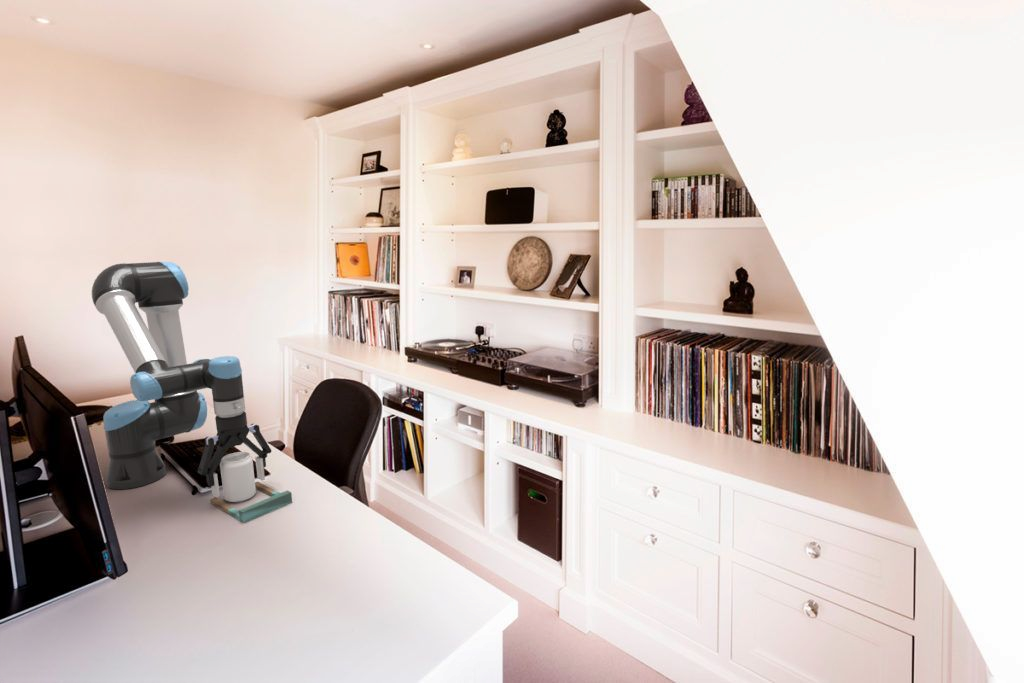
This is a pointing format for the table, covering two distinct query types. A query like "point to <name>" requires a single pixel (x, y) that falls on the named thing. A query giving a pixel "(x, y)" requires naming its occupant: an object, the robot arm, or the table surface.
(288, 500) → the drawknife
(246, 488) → the beverage can
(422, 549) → the table surface
